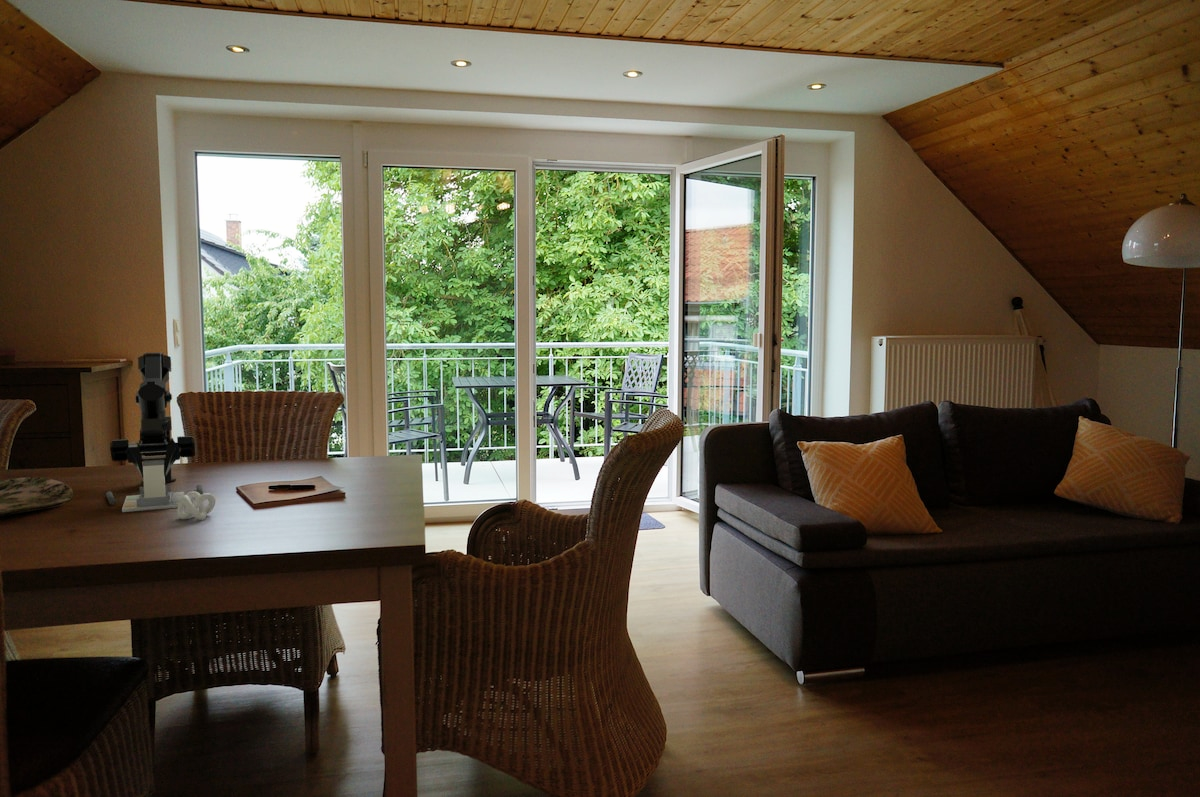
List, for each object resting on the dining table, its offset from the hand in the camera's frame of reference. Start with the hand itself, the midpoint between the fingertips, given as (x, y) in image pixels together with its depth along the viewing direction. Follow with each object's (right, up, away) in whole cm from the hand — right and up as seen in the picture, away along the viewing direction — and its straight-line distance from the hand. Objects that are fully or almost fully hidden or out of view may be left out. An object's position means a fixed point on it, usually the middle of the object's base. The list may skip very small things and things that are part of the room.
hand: (153, 475), depth 208 cm
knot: (+19, -8, -16) cm, 26 cm away
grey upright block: (-1, -6, +2) cm, 6 cm away
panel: (+1, -7, -1) cm, 7 cm away
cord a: (+6, -6, +10) cm, 13 cm away
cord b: (-12, -6, +2) cm, 13 cm away
